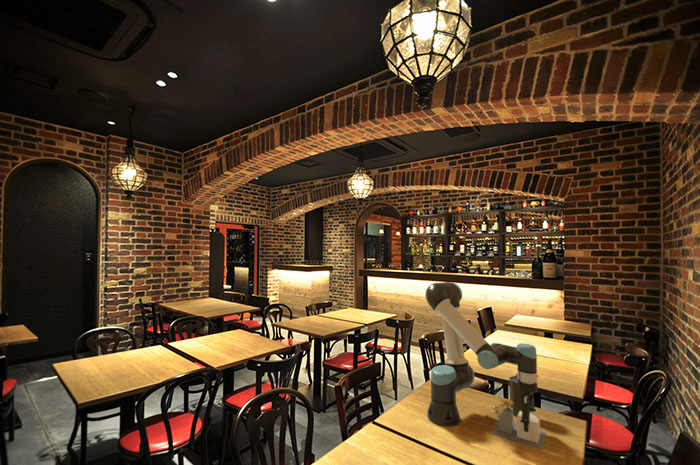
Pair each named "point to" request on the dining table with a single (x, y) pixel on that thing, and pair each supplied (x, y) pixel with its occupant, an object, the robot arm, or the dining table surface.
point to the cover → (533, 427)
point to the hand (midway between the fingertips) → (528, 432)
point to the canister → (515, 395)
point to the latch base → (513, 430)
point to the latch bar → (501, 407)
